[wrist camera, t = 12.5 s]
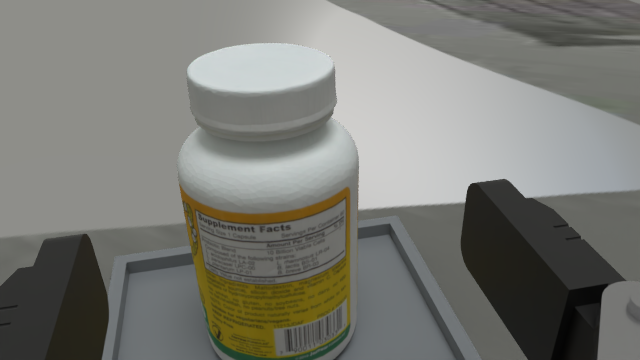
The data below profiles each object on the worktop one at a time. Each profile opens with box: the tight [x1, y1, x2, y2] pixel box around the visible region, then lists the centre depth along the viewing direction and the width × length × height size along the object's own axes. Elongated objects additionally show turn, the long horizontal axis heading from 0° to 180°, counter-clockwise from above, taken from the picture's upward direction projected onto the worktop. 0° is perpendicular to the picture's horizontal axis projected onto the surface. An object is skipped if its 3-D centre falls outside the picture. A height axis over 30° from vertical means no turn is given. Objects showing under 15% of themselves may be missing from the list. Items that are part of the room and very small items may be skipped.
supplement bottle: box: [177, 43, 359, 360], centre depth 17 cm, size 5×5×10 cm
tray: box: [102, 215, 482, 360], centre depth 20 cm, size 12×9×2 cm
